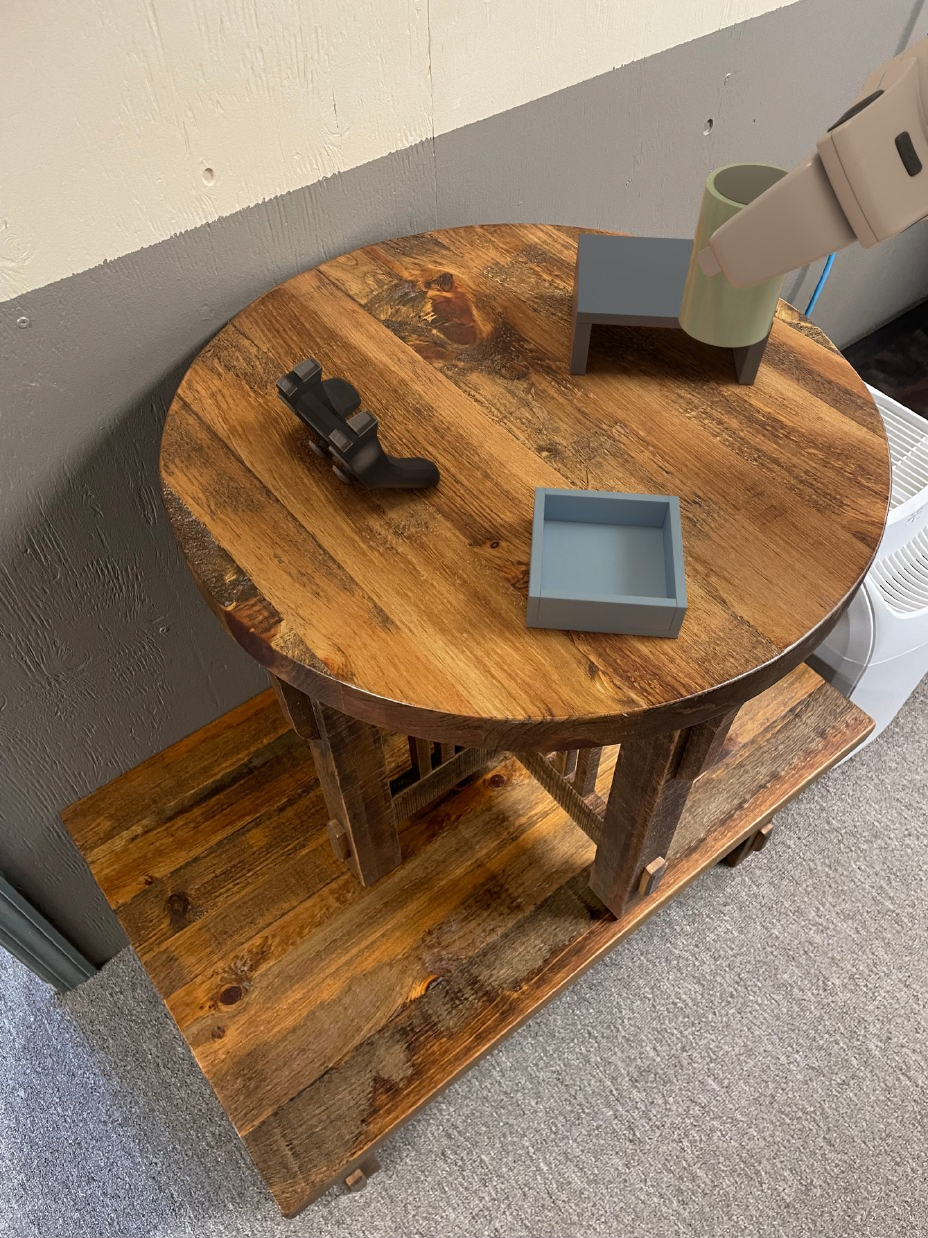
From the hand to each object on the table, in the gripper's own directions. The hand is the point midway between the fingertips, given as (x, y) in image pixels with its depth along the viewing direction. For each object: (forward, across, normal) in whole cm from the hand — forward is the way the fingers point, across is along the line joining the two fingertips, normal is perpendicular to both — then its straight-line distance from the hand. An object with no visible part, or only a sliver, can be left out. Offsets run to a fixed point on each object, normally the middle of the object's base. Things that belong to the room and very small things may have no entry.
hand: (735, 239), depth 60 cm
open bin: (+14, +14, +17) cm, 26 cm away
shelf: (+24, -16, +6) cm, 29 cm away
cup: (+4, 0, +5) cm, 6 cm away
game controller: (+32, +17, -1) cm, 36 cm away
